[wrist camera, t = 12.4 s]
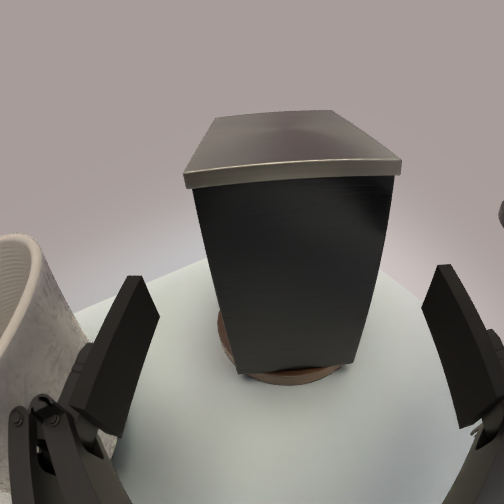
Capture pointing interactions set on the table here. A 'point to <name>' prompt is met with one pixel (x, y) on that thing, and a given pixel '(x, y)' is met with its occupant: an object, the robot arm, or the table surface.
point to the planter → (33, 336)
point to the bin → (292, 233)
